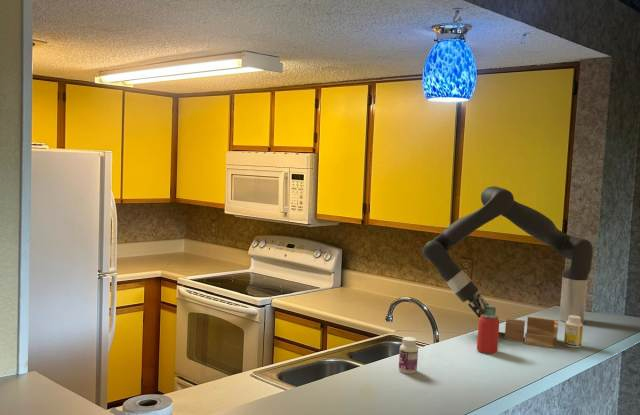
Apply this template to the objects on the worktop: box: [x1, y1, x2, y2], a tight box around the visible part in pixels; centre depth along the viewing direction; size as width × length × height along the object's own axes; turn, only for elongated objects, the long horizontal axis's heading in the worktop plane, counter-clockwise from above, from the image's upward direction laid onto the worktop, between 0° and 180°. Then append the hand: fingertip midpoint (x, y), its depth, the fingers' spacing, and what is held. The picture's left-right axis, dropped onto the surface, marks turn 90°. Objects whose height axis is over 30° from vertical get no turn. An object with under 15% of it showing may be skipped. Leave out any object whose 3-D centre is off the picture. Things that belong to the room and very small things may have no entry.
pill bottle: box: [398, 336, 419, 375], centre depth 184 cm, size 5×5×10 cm
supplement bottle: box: [563, 315, 584, 349], centre depth 216 cm, size 6×6×10 cm
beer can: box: [476, 313, 500, 355], centre depth 206 cm, size 7×7×12 cm
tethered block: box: [484, 305, 526, 342], centre depth 224 cm, size 6×14×10 cm, turn 69°
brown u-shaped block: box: [524, 316, 559, 349], centre depth 220 cm, size 11×10×7 cm
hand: (492, 321), depth 226 cm, fingers open, 8 cm apart
